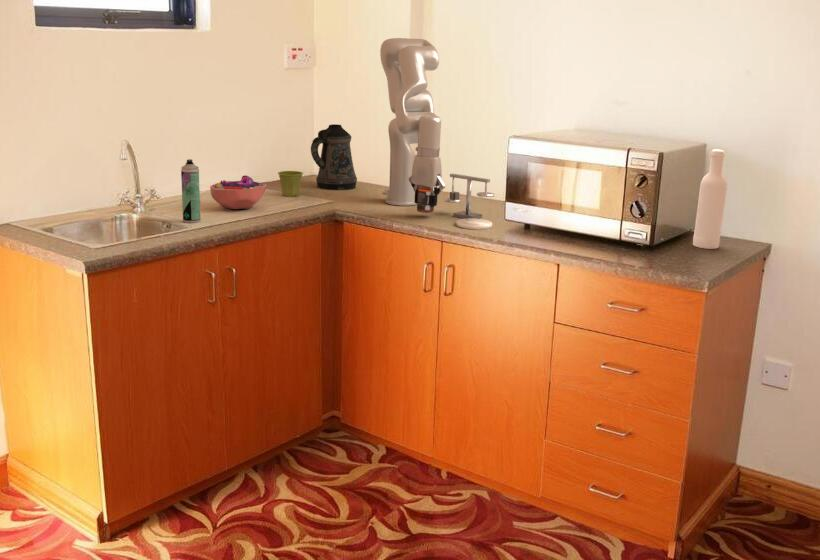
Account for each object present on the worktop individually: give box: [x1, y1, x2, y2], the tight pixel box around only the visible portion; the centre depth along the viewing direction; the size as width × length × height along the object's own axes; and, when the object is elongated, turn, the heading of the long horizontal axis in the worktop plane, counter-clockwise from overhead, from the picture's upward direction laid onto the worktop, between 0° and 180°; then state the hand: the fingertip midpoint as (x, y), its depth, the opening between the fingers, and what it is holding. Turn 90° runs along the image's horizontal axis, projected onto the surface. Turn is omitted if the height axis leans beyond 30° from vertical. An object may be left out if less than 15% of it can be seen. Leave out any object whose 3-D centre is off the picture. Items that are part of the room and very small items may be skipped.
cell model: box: [209, 175, 268, 210], centre depth 301 cm, size 17×20×11 cm
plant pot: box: [277, 170, 304, 198], centre depth 329 cm, size 9×9×9 cm
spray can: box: [180, 158, 201, 224], centre depth 277 cm, size 6×6×20 cm
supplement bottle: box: [416, 185, 435, 214], centre depth 297 cm, size 6×6×11 cm
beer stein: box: [310, 123, 358, 191], centre depth 347 cm, size 16×19×25 cm
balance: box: [443, 173, 495, 219], centre depth 300 cm, size 20×6×14 cm, turn 50°
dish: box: [455, 218, 493, 231], centre depth 288 cm, size 12×12×1 cm
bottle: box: [692, 149, 728, 250], centre depth 266 cm, size 8×8×30 cm
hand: (425, 203), depth 298 cm, fingers closed on supplement bottle, 6 cm apart
